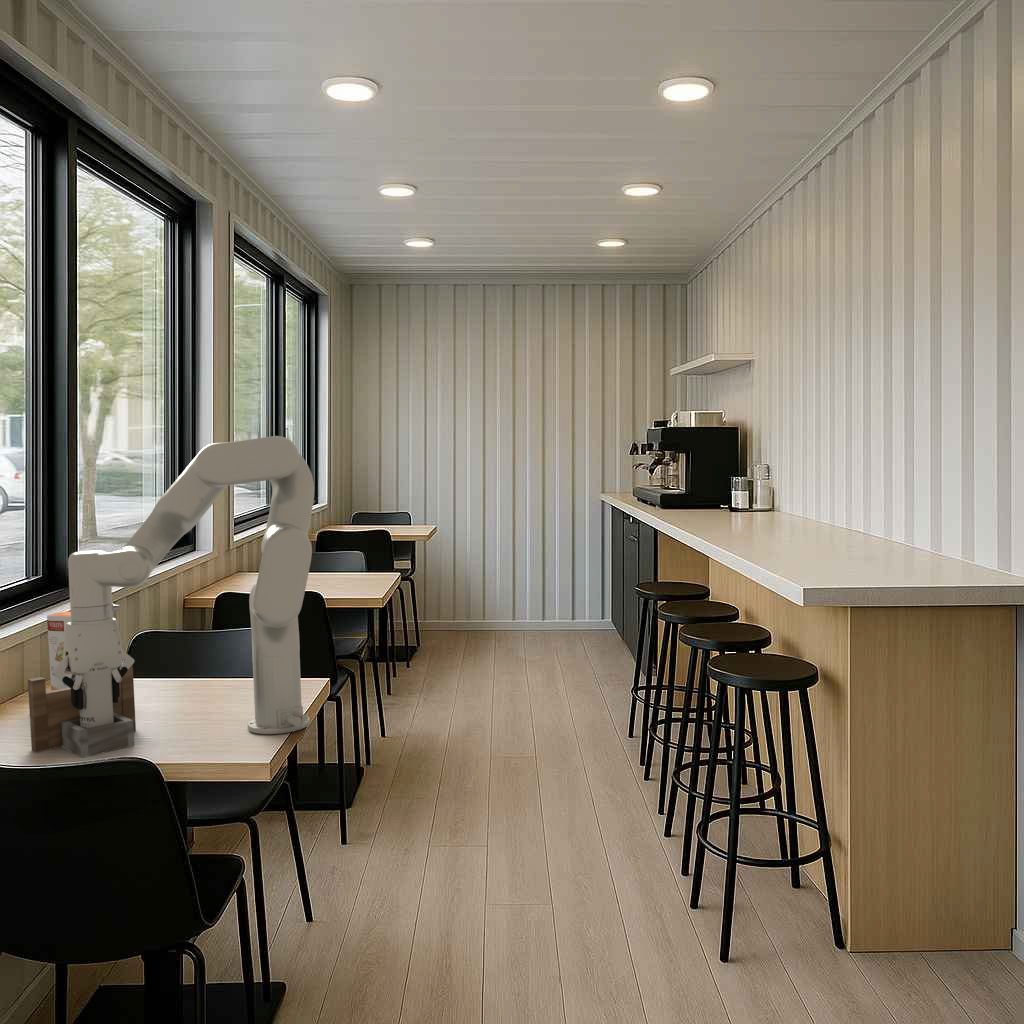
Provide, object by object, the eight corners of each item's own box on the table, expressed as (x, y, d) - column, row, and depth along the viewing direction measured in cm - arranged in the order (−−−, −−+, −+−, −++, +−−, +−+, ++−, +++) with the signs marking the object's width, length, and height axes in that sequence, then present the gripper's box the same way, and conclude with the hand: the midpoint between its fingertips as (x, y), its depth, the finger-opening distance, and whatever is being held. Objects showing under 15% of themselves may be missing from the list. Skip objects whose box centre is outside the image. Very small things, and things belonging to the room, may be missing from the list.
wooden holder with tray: (158, 739, 191) (154, 670, 190) (55, 763, 177) (51, 689, 176) (131, 728, 200) (127, 662, 199) (31, 749, 186) (27, 679, 185)
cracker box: (50, 702, 224) (45, 614, 223) (70, 696, 230) (66, 610, 229) (95, 706, 219) (90, 616, 218) (115, 700, 225) (110, 612, 223)
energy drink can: (75, 738, 187) (71, 662, 186) (104, 731, 191) (101, 657, 191) (90, 743, 183) (86, 666, 182) (120, 736, 188) (116, 660, 187)
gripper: (127, 606, 195) (131, 693, 195) (38, 617, 182) (43, 710, 183) (143, 610, 189) (147, 699, 190) (52, 621, 177) (57, 717, 178)
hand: (96, 704), depth 187 cm, fingers closed on energy drink can, 6 cm apart
